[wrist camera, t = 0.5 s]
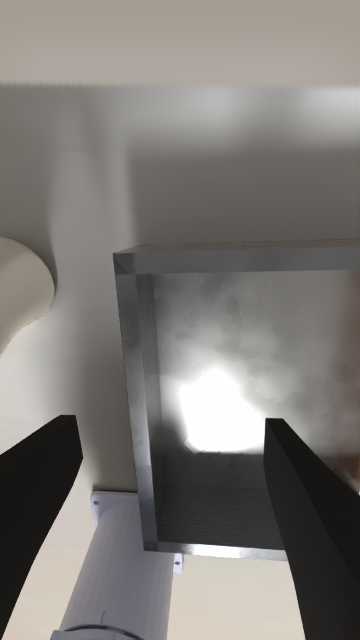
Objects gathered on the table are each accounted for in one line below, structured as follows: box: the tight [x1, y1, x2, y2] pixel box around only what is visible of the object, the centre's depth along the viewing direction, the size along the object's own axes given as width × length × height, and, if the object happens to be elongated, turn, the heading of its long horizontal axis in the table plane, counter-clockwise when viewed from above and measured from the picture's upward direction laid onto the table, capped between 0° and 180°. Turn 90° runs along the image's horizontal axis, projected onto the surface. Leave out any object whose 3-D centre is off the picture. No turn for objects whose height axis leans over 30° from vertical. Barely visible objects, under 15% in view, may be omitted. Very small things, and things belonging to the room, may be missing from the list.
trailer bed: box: [113, 239, 360, 561], centre depth 18 cm, size 20×16×6 cm
